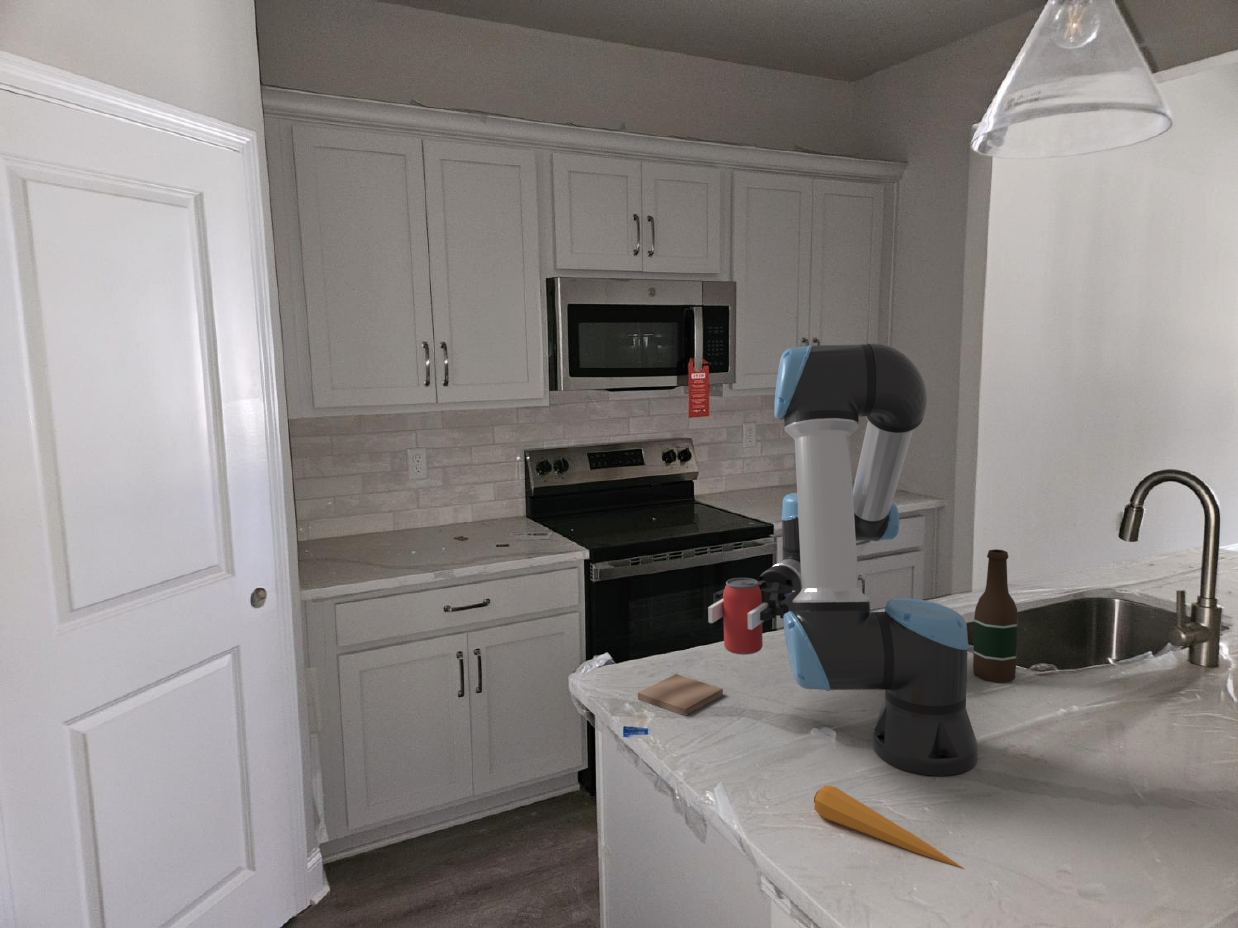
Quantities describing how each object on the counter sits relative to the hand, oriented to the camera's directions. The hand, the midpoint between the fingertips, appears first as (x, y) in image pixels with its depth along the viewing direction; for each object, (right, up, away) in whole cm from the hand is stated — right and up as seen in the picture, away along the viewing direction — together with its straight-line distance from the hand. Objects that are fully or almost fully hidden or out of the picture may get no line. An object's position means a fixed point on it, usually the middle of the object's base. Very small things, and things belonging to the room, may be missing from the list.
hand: (729, 618), depth 137 cm
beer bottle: (+52, -14, +17) cm, 56 cm away
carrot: (+16, -23, -32) cm, 42 cm away
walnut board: (-7, -17, +13) cm, 22 cm away
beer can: (+3, -7, +5) cm, 9 cm away
